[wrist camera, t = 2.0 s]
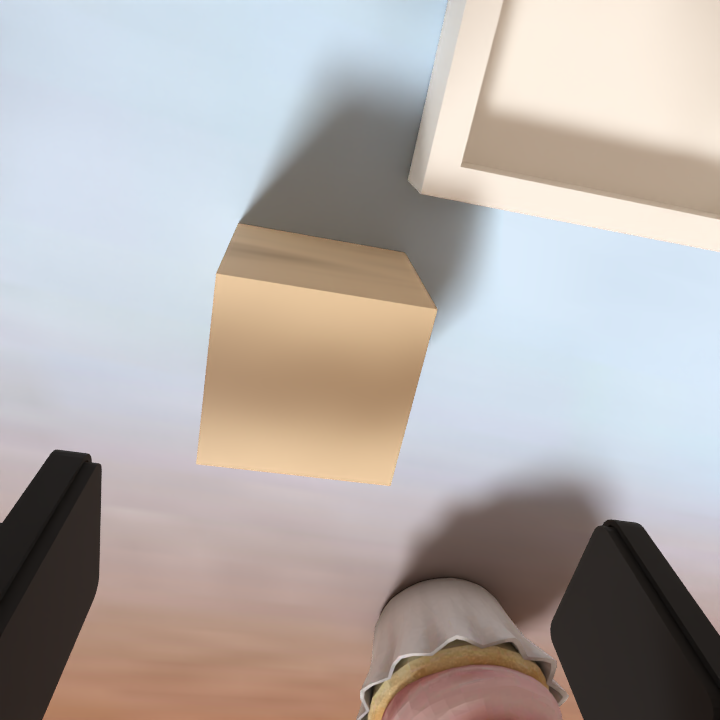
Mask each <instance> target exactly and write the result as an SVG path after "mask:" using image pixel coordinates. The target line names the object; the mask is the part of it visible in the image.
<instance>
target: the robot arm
mask: <svg viewBox="0 0 720 720" xmlns="http://www.w3.org/2000/svg"><path fill="white" fill-rule="evenodd" d="M101 475H102V469H101V464H99V463H92V460H91V456H90V454H87V453H79V452H71V451H63V450H54V451H53V452H52V453H51V454H50V456H49V457H48V458H47V460H46V461H45V463H44V464H43V466H42V467H41V468H40V470H39V471H38V473H37V474H36V476H35V477H34V478H33V480H32V481H31V483H30V484H29V486H28V487H27V488H26V490H25V491H24V493H23V494H22V496H21V497H20V498H19V500H18V501H17V503H16V504H15V506H14V507H13V508H12V510H11V511H10V513H9V514H8V516H7V517H6V518H5V520H4V521H3V523H0V720H42V719H43V717H44V714H45V712H46V710H47V707H48V705H49V703H50V700H51V698H52V696H53V693H54V691H55V689H56V686H57V684H58V681H59V679H60V677H61V674H62V672H63V670H64V667H65V665H66V663H67V660H68V658H69V656H70V653H71V651H72V649H73V646H74V644H75V642H76V639H77V637H78V635H79V632H80V630H81V628H82V625H83V623H84V621H85V618H86V616H87V614H88V611H89V609H90V607H91V604H92V602H93V599H94V597H95V594H96V591H97V586H98V581H99V560H100V517H101ZM550 630H551V639H552V643H553V645H554V648H555V650H556V652H557V655H558V657H559V660H560V662H561V665H562V667H563V670H564V672H565V675H566V677H567V680H568V682H569V685H570V687H571V690H572V692H573V694H574V697H575V699H576V702H577V704H578V707H579V709H580V712H581V714H582V717H583V719H584V720H720V635H719V634H718V633H717V631H716V630H715V628H714V627H713V626H712V624H711V623H710V621H709V620H708V618H707V617H706V616H705V614H704V613H703V611H702V610H701V609H700V607H699V606H698V604H697V603H696V601H695V600H694V599H693V597H692V596H691V594H690V593H689V592H688V590H687V589H686V587H685V586H684V584H683V583H682V582H681V580H680V579H679V577H678V576H677V574H676V573H675V572H674V570H673V569H672V567H671V566H670V565H669V563H668V562H667V560H666V559H665V557H664V556H663V555H662V553H661V552H660V550H659V549H658V548H657V546H656V545H655V543H654V542H653V540H652V539H651V538H650V536H649V535H648V533H647V532H646V531H645V529H644V528H643V527H642V526H641V525H640V524H638V523H635V522H627V521H619V520H607V521H606V522H604V524H603V525H602V526H598V527H597V528H596V529H595V530H594V532H593V534H592V536H591V538H590V540H589V543H588V545H587V547H586V549H585V551H584V553H583V555H582V558H581V560H580V562H579V564H578V566H577V568H576V570H575V573H574V575H573V577H572V579H571V581H570V583H569V585H568V588H567V590H566V592H565V594H564V596H563V598H562V601H561V603H560V605H559V607H558V609H557V611H556V613H555V616H554V618H553V620H552V623H551V628H550Z"/></svg>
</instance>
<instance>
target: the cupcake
mask: <svg viewBox="0 0 720 720" xmlns="http://www.w3.org/2000/svg"><path fill="white" fill-rule="evenodd" d="M556 668H557V661H556V660H555V659H553V658H552V657H551V656H549V655H548V654H547V653H545V652H544V651H543V650H541V649H540V648H539V647H537V646H536V645H535V644H533V643H532V642H531V641H529V640H528V639H527V638H525V637H524V635H523V634H522V633H521V632H520V630H519V629H518V628H517V627H516V625H515V624H514V623H513V622H512V620H511V619H510V618H509V617H508V615H507V614H506V612H505V611H504V610H503V608H502V607H501V605H500V604H499V602H498V601H497V600H496V598H495V597H494V596H493V595H491V594H490V593H489V592H488V591H487V590H485V589H484V588H483V587H481V586H480V585H477V584H475V583H472V582H470V581H467V580H462V579H456V578H439V579H432V580H427V581H423V582H419V583H417V584H415V585H412V586H410V587H408V588H406V589H405V590H403V591H402V592H400V593H399V594H397V595H396V596H395V597H393V598H392V599H391V600H390V601H389V603H388V604H387V605H386V607H385V608H384V609H383V611H382V613H381V615H380V617H379V619H378V622H377V624H376V626H375V633H374V641H373V650H372V660H371V667H370V670H369V673H368V675H367V677H366V679H365V682H364V684H363V686H362V689H361V692H360V699H361V701H362V704H361V707H360V710H359V713H358V716H357V719H356V720H562V714H561V711H560V708H559V706H561V705H562V704H563V703H564V702H565V701H566V700H567V698H568V697H569V695H568V694H567V693H566V691H565V690H564V689H563V688H562V687H561V686H560V685H559V684H558V683H557V682H556V681H555V680H554V679H553V677H554V674H555V671H556Z"/></svg>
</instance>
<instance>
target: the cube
mask: <svg viewBox="0 0 720 720" xmlns="http://www.w3.org/2000/svg"><path fill="white" fill-rule="evenodd" d="M437 310H438V309H437V308H436V306H435V304H434V302H433V301H432V299H431V297H430V296H429V294H428V292H427V290H426V289H425V287H424V285H423V283H422V282H421V280H420V278H419V276H418V275H417V273H416V271H415V269H414V268H413V266H412V264H411V262H410V261H409V259H408V257H407V255H406V254H405V252H399V251H393V250H388V249H382V248H376V247H371V246H365V245H359V244H354V243H348V242H342V241H337V240H331V239H326V238H320V237H314V236H309V235H303V234H297V233H292V232H286V231H280V230H275V229H269V228H263V227H258V226H252V225H246V224H241V223H238V225H237V227H236V230H235V232H234V234H233V236H232V239H231V241H230V243H229V246H228V248H227V250H226V252H225V255H224V257H223V259H222V261H221V264H220V266H219V268H218V271H217V273H216V280H215V290H214V299H213V309H212V319H211V328H210V338H209V347H208V357H207V366H206V376H205V385H204V395H203V404H202V414H201V424H200V433H199V443H198V452H197V462H196V464H200V465H209V466H217V467H226V468H235V469H244V470H253V471H262V472H271V473H280V474H288V475H297V476H306V477H315V478H324V479H333V480H342V481H351V482H360V483H368V484H377V485H386V486H390V485H391V482H392V478H393V474H394V470H395V467H396V463H397V459H398V455H399V452H400V448H401V444H402V441H403V437H404V433H405V429H406V426H407V422H408V418H409V414H410V411H411V407H412V403H413V399H414V396H415V392H416V388H417V384H418V381H419V377H420V373H421V369H422V366H423V362H424V358H425V354H426V351H427V347H428V343H429V340H430V336H431V332H432V328H433V325H434V321H435V317H436V313H437Z"/></svg>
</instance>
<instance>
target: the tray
mask: <svg viewBox="0 0 720 720" xmlns="http://www.w3.org/2000/svg"><path fill="white" fill-rule="evenodd" d="M408 181H409V182H410V183H411V185H412V186H413V187H414V188H415V189H416V190H417V191H418V192H419V193H420V194H424V195H429V196H434V197H439V198H444V199H449V200H455V201H460V202H465V203H470V204H475V205H480V206H485V207H491V208H496V209H501V210H506V211H511V212H516V213H522V214H527V215H532V216H537V217H542V218H547V219H552V220H558V221H563V222H568V223H573V224H578V225H583V226H588V227H594V228H599V229H604V230H609V231H614V232H619V233H624V234H630V235H635V236H640V237H645V238H650V239H655V240H660V241H666V242H671V243H676V244H681V245H686V246H691V247H697V248H702V249H707V250H712V251H717V252H720V0H448V3H447V8H446V12H445V17H444V21H443V25H442V30H441V34H440V39H439V43H438V48H437V52H436V56H435V61H434V65H433V70H432V74H431V79H430V83H429V88H428V92H427V96H426V101H425V105H424V110H423V114H422V119H421V123H420V127H419V132H418V136H417V141H416V145H415V150H414V154H413V159H412V163H411V167H410V172H409V176H408Z"/></svg>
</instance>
